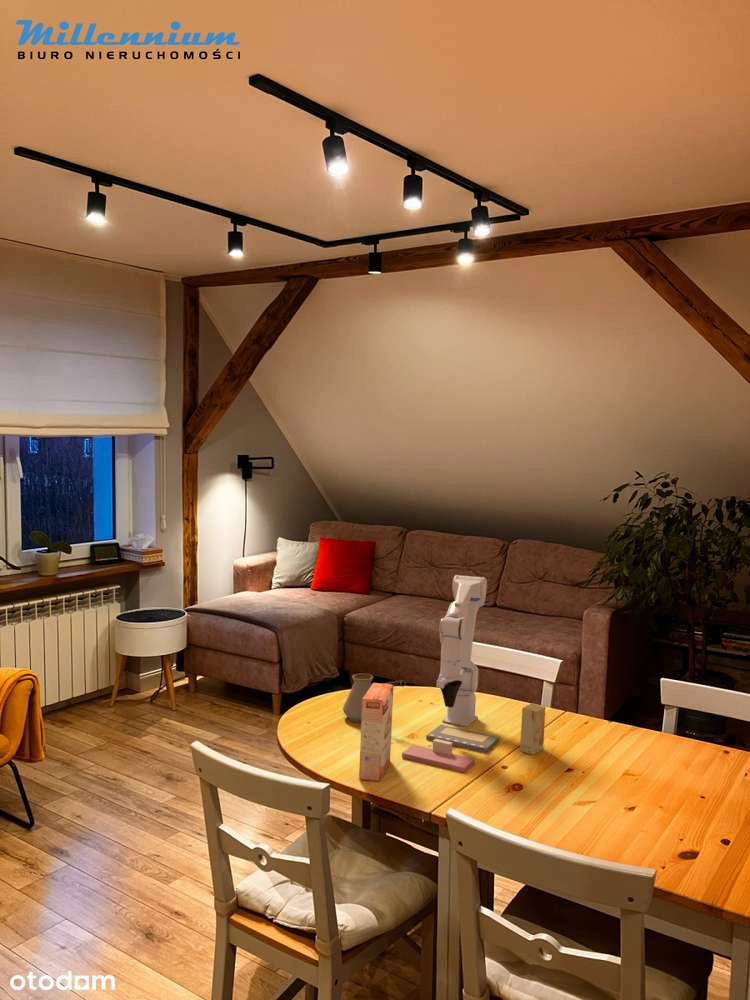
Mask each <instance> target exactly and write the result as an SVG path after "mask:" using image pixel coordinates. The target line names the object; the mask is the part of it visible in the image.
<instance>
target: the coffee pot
mask: <svg viewBox="0 0 750 1000" xmlns="http://www.w3.org/2000/svg"><path fill="white" fill-rule="evenodd" d="M351 678H352V679H353V685H352V687H351V689H350V692H349V693H348V696H347V698H346V699H345V702H344V703H343V704H344V705H343V707H342V710H343V713H344V715H345V716H346V717H347V718H348V719H349V720H350V721H352V722H354V723H361V717H362V699H363V697H364V696H365V694H366V693H367V691H368V690H369V688H370V687H371V685H372V681H373V679H374V676H373V675H372V674H369V673H356V674H355V673H354V674H352V676H351ZM402 683H404V686H402ZM383 684H391V685H399V684H400V687H401V688H405V687H406V686H407V685H406V681H405V680H404V679H399V680H397V679H396V680H395V681H388V682H386V683H384V682H383Z"/></svg>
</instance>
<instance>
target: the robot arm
mask: <svg viewBox="0 0 750 1000" xmlns="http://www.w3.org/2000/svg"><path fill="white" fill-rule="evenodd" d="M487 586H488V581H487V579H486V577H484V576H470V575H459V574H455V575H454V576H453V579H452V589H451V590H452V594H453V599H454V601H452V602H451V603H450V604H449V607H448V609H447V612H446V613H445V614H446V615H445V616H444V617H441V619H440V622H439V630H438V631H439V642H440V643H439V644H441V646H440V648H441V649H440V671H439V675H438V679H437V680H436V688H438V689H440V691H441V694H442V696H443V697H442V698H443V701H444V706H445V707H447V714H446V716H445V717H444V718H443V719H442V720H441V721H442V723H448V724H452V725H457V726H461V727H468V726H469V725H470V724H472V723H473V722H474V721H475V720H477V719H478V718H479V716H478V715H476V703H477V702H476V701H477V700H476V698H477V697H476V694H475V692H476V691H477V690H478V685H479V668H478V666H477V664H475V663H474V662H473V661H472V660H471V659H472V653H473V652H472V651H473V645H474V644H473V643H474V636H475V627H476V620H477V614H478V611H479V608H481V607H484V605H485V602H486V596H487V589H488V588H487Z"/></svg>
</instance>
